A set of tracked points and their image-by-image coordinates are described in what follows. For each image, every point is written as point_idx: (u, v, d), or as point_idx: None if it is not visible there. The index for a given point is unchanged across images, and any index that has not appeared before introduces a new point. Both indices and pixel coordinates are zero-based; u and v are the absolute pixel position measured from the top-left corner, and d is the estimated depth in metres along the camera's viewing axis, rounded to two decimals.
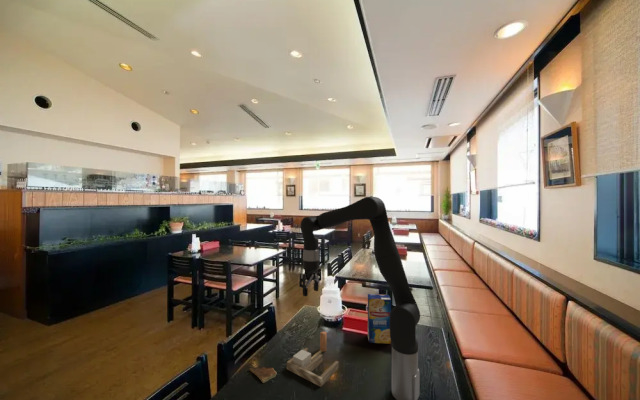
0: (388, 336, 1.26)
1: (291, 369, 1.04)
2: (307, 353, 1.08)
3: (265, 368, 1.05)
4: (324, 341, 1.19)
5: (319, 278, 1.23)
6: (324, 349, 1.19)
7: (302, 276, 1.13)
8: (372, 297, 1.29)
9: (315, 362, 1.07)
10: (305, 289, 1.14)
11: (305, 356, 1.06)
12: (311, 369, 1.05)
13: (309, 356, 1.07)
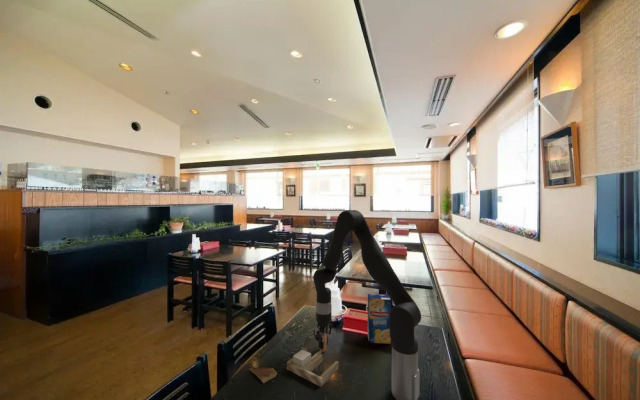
0: (388, 336, 1.26)
1: (291, 369, 1.04)
2: (307, 353, 1.08)
3: (265, 368, 1.05)
4: (324, 341, 1.19)
5: (329, 331, 1.23)
6: (324, 349, 1.19)
7: (316, 333, 1.15)
8: (372, 297, 1.29)
9: (315, 362, 1.07)
10: (321, 342, 1.18)
11: (305, 356, 1.06)
12: (311, 369, 1.05)
13: (309, 356, 1.07)
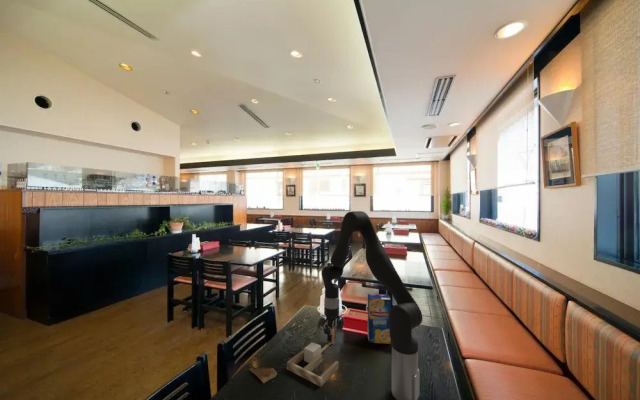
0: (388, 336, 1.26)
1: (291, 369, 1.04)
2: (317, 345, 1.14)
3: (265, 368, 1.05)
4: (332, 334, 1.25)
5: None
6: (332, 342, 1.25)
7: (325, 327, 1.21)
8: (372, 297, 1.29)
9: (315, 362, 1.07)
10: (329, 335, 1.24)
11: (316, 348, 1.12)
12: (311, 369, 1.05)
13: (319, 348, 1.13)
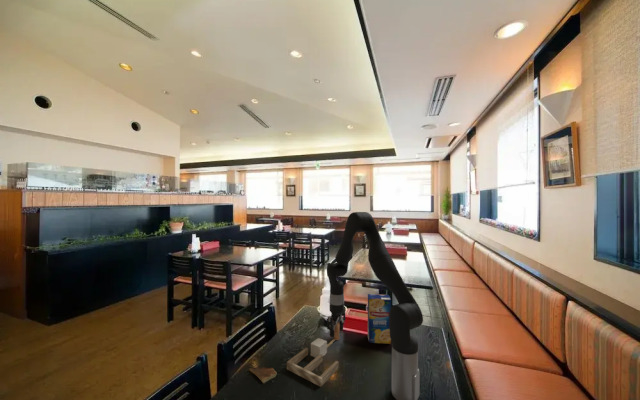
0: (388, 336, 1.26)
1: (291, 369, 1.04)
2: (323, 341, 1.18)
3: (265, 368, 1.05)
4: (337, 331, 1.28)
5: (343, 318, 1.34)
6: (337, 338, 1.28)
7: (330, 319, 1.24)
8: (372, 297, 1.29)
9: (315, 362, 1.07)
10: (332, 331, 1.25)
11: (322, 343, 1.16)
12: (311, 369, 1.05)
13: (325, 343, 1.17)
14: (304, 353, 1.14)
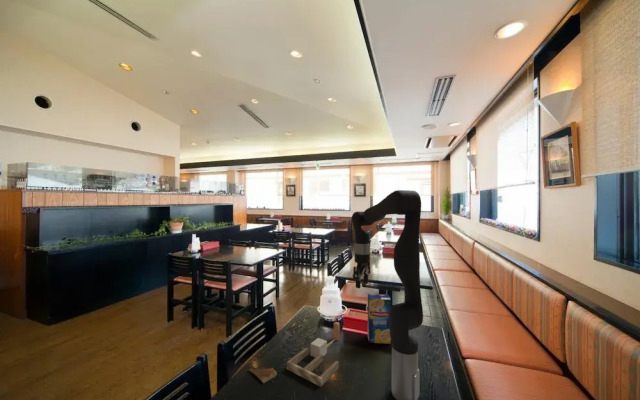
0: (388, 336, 1.26)
1: (291, 369, 1.04)
2: (323, 341, 1.18)
3: (265, 368, 1.05)
4: (337, 331, 1.28)
5: None
6: (337, 338, 1.28)
7: (356, 269, 1.17)
8: (372, 297, 1.29)
9: (315, 362, 1.07)
10: (358, 281, 1.18)
11: (322, 343, 1.16)
12: (311, 369, 1.05)
13: (325, 343, 1.17)
14: (304, 353, 1.14)
